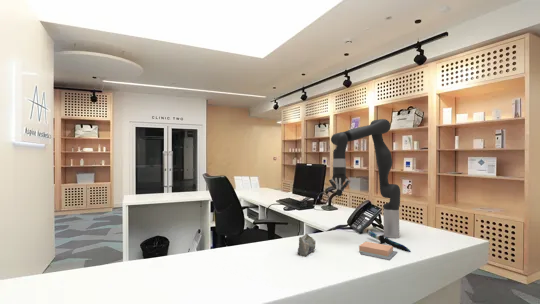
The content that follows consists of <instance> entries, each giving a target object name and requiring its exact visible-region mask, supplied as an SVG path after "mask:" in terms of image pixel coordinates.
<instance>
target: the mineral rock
mask: <svg viewBox="0 0 540 304" xmlns="http://www.w3.org/2000/svg"><path fill="white" fill-rule="evenodd" d="M315 249H316V240H315V239H314V238H313V237H312V236H310V235H309V234H308V233H305V234H304V235H302V236H299V237H298V248H297V255H299V256H302V257H303V256H304V257H306V256H308V255H309V254H310V253H311V252H313V251H314V250H315Z"/></svg>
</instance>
